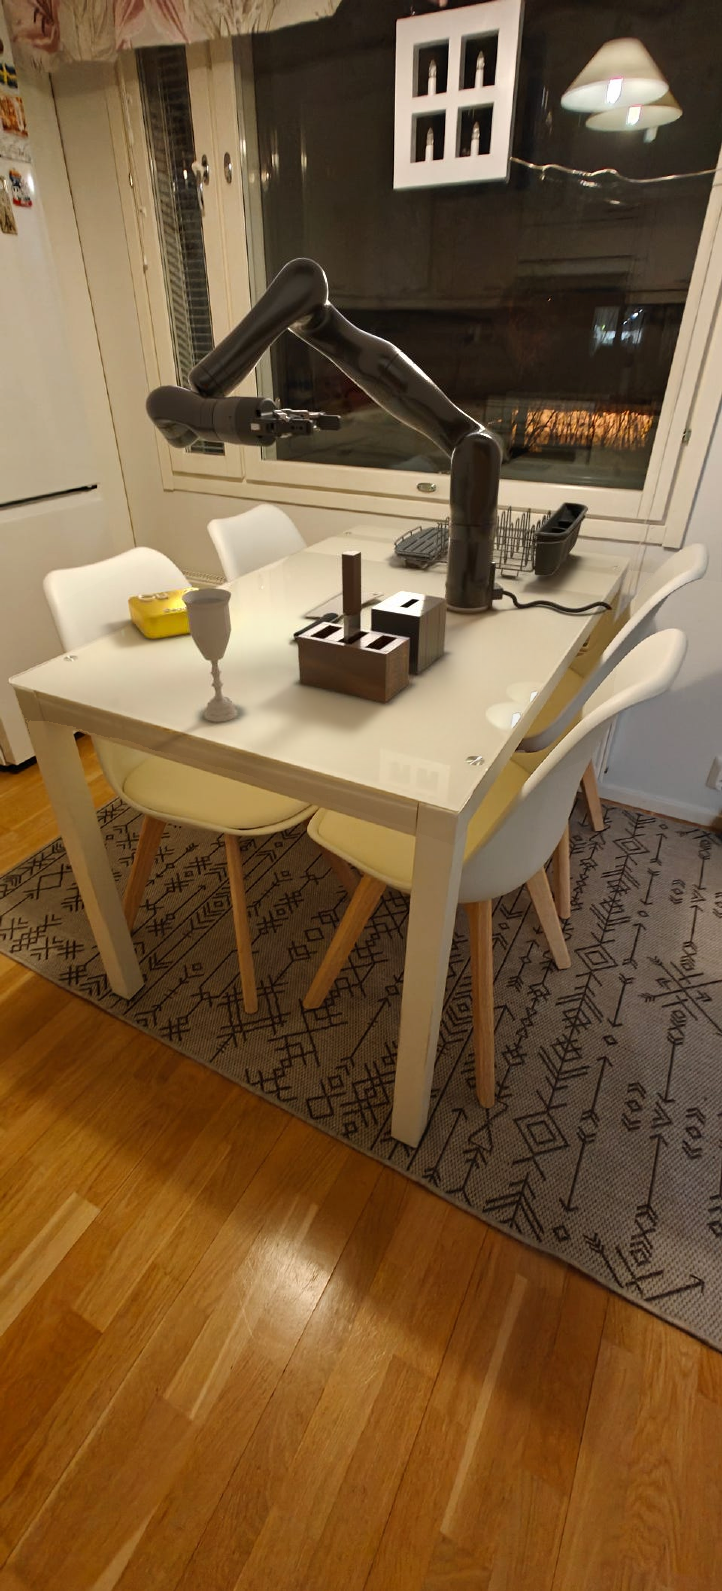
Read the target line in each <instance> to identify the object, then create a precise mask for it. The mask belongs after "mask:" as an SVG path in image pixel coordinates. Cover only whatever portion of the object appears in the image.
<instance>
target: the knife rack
mask: <svg viewBox="0 0 722 1591" xmlns="http://www.w3.org/2000/svg"><path fill="white" fill-rule="evenodd" d="M297 640H298V641H297ZM297 640H296V641H297V655H298V672H299V684H303V685H307V686H312V687H316V688H320V689H323V690H329V691H333V692H336V693H337V692H338V693H341V694H346V695H350V696H354V697H358V698H363V699H367V700H372V701H376V702H380V703H388V701H390V700H391V699H393V697H395V696H397V694H398V693H400V692H401V691H403V690H404V689H405V688H406V687H407V686H408V685H409V674H410V673H409V645H410V638H408V637H402V636H397V635H392V634H386V633H381V632H375V631H371V629H364V628H361V639H359V640H358V641H356V642H354V643H353V644H351V645H350V644H345V643H344V624H337V623H327V622H323V623H321V624H319V625H317V626H316V627H314V628H312V629H310V630H308V631H306V632H305V633H303V634H301V635H299V636H297Z"/></svg>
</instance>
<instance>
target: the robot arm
mask: <svg viewBox="0 0 722 1591" xmlns="http://www.w3.org/2000/svg"><path fill="white" fill-rule="evenodd" d="M328 299H329V286H328V280H327V276H326V272H325V271H324V270H323V268H322V267H321V266H320V264H319V263H317V262H315V260H312V259H310V258H306V257H298V258H295V259H293V260H290V261H289V262H288V263H286V264H285V265H284V266H283V268H282V269H281V270H280V271H279V273H278V274H277V275H276V277H275V278H274V279H273V281H272V282H271V284H269V286H268V287H267V289H266V290H265V291H264V293H263V294H262V295H261V297H260V298H259V299H258V300H257V302H256V303H255V304H254V306H253V307H251V309H250V310H249V311H248V313H247V314H246V315H245V316H244V317H243V319H241V321H240V322H239V323H238V324H237V325H236V326H235V327H234V328H233V329H232V330H231V331H230V333H228V335H227V336H226V337H224V339H222V341H220V343H218V344H217V345H216V346H215V347H214V348H213V349H212V350H211V351H210V352H209V353H208V354H207V355H205V357H203V358H202V359H201V360H200V361H199V362H198V363H197V364H196V365H195V366H194V367H193V368H192V369H191V370H190V371H189V373H188V376H187V380H188V384H189V386H190V389H188V388H184V387H181V386H178V385H173V384H164V385H160V386H158V387H156V388H153V389H152V390H151V391H150V392H149V393H148V395H147V397H146V400H145V404H144V405H145V411H146V415H147V416H148V417H149V420H150V421H151V422H152V424H153V425H154V426H155V427H156V429H157V430H158V431H159V432H160V434H161V435H162V436H163V438H164V439H165V440H166V442H167V443H168V444H169V445H170V446H171V447H172V448H175V449H186V448H188V447H191V446H192V445H194V444H195V443H196V442H198V440H199V439H201V440H202V441H206V442H213V443H223V444H224V443H225V444H226V443H227V444H229V445H236V446H245V447H247V446H248V447H259V448H260V447H263V448H269V447H271V446H273V445H274V444H275V443H276V442H277V440H278V438H281V439H282V438H289V437H292V436H303V437H304V436H305V437H306V436H307V437H310V436H313V435H314V432H315V431H318V432H322V431H335V432H336V431H338V432H339V431H341V429H342V417H341V415H336V414H335V415H334V414H332V415H331V414H326V412H324V411H319V412H317V411H316V412H315V411H308V410H292V409H291V408H283V409H280V410H279V409H278V406H277V405H276V403H275V401H274V400H273V399H271V398H270V397H267V396H248V395H247V396H244V395H232V394H233V393H234V392H235V391H236V390H237V389H238V388H239V387H240V386H241V385H242V384H243V383H244V382H245V381H246V379H247V378H248V377H249V376H250V374H251V373H252V372H253V370H254V369H255V368H256V366H257V364H259V362H260V360H261V359H262V358H263V356H264V355H265V353H266V352H267V351H268V349H270V347H271V346H272V345H273V343H274V342H275V341H276V340H277V339H278V338H279V337H280V336H281V335H282V334H283V333H285V331H286V330H289V331H290V332H291V333H293V334H295V336H297V337H298V338H300V339H301V340H302V341H304V342H305V343H306V344H308V345H310V346H311V347H313V348H314V349H315V350H317V351H318V352H319V353H321V354H322V355H323V356H325V357H326V358H328V359H329V360H330V361H331V362H333V364H335V366H336V367H338V369H340V370H341V372H343V373H344V374H345V375H346V376H347V377H348V378H349V379H350V380H351V381H352V382H354V384H356V385H357V386H358V387H359V388H360V389H361V390H363V391H364V393H366V395H368V396H369V397H370V398H371V399H372V400H373V401H374V402H375V403H376V404H378V406H380V407H381V408H382V409H383V410H385V411H386V412H387V413H388V414H390V415H391V416H392V417H394V418H395V419H397V420H398V421H399V422H401V423H403V424H405V425H406V426H408V427H409V428H411V429H413V430H415V431H417V432H419V433H420V434H422V435H424V436H425V437H427V438H428V439H429V440H431V441H432V442H433V443H434V444H435V445H436V446H437V447H439V449H440V450H442V451H443V453H445V454H446V455H447V457H448V458H449V459H450V460H451V461H450V476H449V477H450V478H449V499H448V501H449V502H448V506H449V518H450V521H449V539H448V547H447V550H448V551H447V556H446V557H447V558H446V561H447V563H446V575H445V576H446V577H445V583H444V584H445V585H444V587H445V594H444V598H447V610H449V611H452V612H455V613H462V614H477V613H483V612H485V611H487V610H493V602H494V601H500V600H503V597H504V596H507V597H509V598H510V599H511V600H512V603H513V606H514V607H516V608H518V609H528V608H531V607H534V606H535V607H536V606H548V607H551V608H554V609H556V610H558V611H561V612H564V613H571V614H579V613H583V612H587V611H589V610H591V609H594V608H596V607H597V608H598V607H603V608H604V609H605V610H607V611H612V610H613V607H612V606H611V605H610V604H609V603H607V602H605V601H594V602H592V603H590V604H588V605H585V606H581V607H576V608H572V607H566V606H563V605H560V604H558V603H556V602H553V601H548V600H543V599H539V600H533V601H530V602H527V603H519V601H518V599H517V596H516V595H515V594H514V593H513V592H510V591H508V590H505V589H504V587H502V585H500V584H499V583H498V582H495V581H496V570H497V569H496V567H497V564H496V563H497V562H496V561H494V557H493V556H494V554H495V553H494V552H495V550H494V549H495V544H494V543H496V537H495V532H496V521H497V522H498V518H497V511H498V512H499V506H498V505H499V490H500V479H501V470H502V469H501V468H502V464H503V460H504V459H503V458H504V449H503V445H502V443H501V440H500V439H499V437H498V436H497V435H496V434H495V433H493V432H492V431H491V430H489V429H488V428H487V427H485V426H483V425H482V424H481V423H479V422H478V421H476V419H473V418H472V417H471V416H469V415H468V414H466V413H465V412H464V411H463V410H461V409H460V408H459V407H458V406H456V405H455V404H454V403H453V402H452V401H451V399H449V398H448V396H447V395H446V394H445V393H444V392H443V391H442V390H441V389H440V387H438V385H437V384H436V383H435V382H434V381H433V380H432V379H431V378H430V377H429V375H427V374H426V373H425V372H424V371H423V370H422V369H421V368H420V367H419V366H418V365H417V364H416V363H415V362H414V361H413V360H412V359H411V358H409V357H408V356H407V355H406V354H405V353H404V352H402V350H400V349H399V348H398V347H397V346H395V345H394V344H393V343H391V342H390V341H387V340H385V339H384V338H381V337H378V336H376V335H374V334H372V333H369V332H366V331H364V330H361V329H360V328H358V327H357V326H355V325H354V324H352V323H351V322H350V321H349V320H347V318H346V317H344V315H343V314H341V313H340V311H338V310H337V309H336V307H335V306H334V305H333V304H332V303H331V302H330V301H329V300H328ZM230 395H232V396H230Z"/></svg>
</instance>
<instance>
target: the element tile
mask: <svg viewBox="0 0 722 1591" xmlns="http://www.w3.org/2000/svg"><path fill="white" fill-rule="evenodd" d="M198 589H199V588H197V587H188V588H182V589H176V590H169V591H162V592H161V591H160V592H154V593H143V594H139V595H136V596H131V597H129V598H128V600H127V603H128V609H129V613H130V619H131V621H132V622H133V623H134V625H135V626H136V627H137V628H138V630H140V632H141V633H142V634H143V636H144V637H146V638H147V639H152V640H155V639H156V640H157V639H164V638H169V637H175V636H180V635H181V636H182V635H186V634H190V629H189V622H188V615H187V608H186V605H185V604H184V602H183V601H182V598H181V597H182V596H183V595H184V594H185V593H187V592H190V591H193V590H198Z"/></svg>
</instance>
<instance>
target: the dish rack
mask: <svg viewBox="0 0 722 1591" xmlns="http://www.w3.org/2000/svg"><path fill="white" fill-rule="evenodd" d="M531 510H532V508H531V507H528V508H527V511H526V512H522V514H521V519H520V517H519V516H518V517H517V518H516V519H515V525H514V522H512V511H513V510H512V506H511V505H508V507H507V512H506V510H504V509H503V510H502V512H501V517H500V516H499V514H498V512H499V510H498V511H497V521H496V532H495V538H496V541H495V543H494V545H496V548H494V551H497V552H500V553H499V554H500V555H493V558H497V559H499V561H498V562H495V563H496V565H498V566H496V570H500V575H501V577H502V578H507V579H517V578H518V577H519V572H521V573H534V575H535V576H540V577H541V576H542V577H547V576H551V575H553V574H555V573H556V571H558V569H559V567H560V566H561V565H562V563H564V561H565V559H567V557H568V555H569V554H570V553H571V551H573V548H574V547H575V545H576V544H577V541H578V538H579V535H580V530H581V526H582V523H583V521H584V520H585V519H586V513H587V511H589V507H588V506H587V505H586V504H582V503H578V502H568V501H565V502H562V504H560V506H559V507H558V508H557V509H556V510H555V511H554V512H553V513H552V510H550V509H548V510H547V514H543V516H542V519H538V520H537V522H536V525H535V524H534V523H533V524H532V525H531V515H532V514H531ZM447 521H448V522H447ZM449 521H450V515H449V516H447V517H446V518H445V520H444V522H441V521H438V522H436V524H437V526H429V527H426V528H424V529H423V528H422V527H423V526H422V525H418V526H416V527H414V528H412V529H409V530H408V531H406V532H405V533H404V534H402V535H400V537H398V538H397V539H396V540H395V541H394V543H393V545H394V547H393V548H394V549H393V550H394V553H395V556H396V558H401V559H403V560H404V565H405V566H409V567H414V568H418V567H421V563H422V561H424V562H428V563H430V562H432V563H439V564H440V563H441V564H447V560H438V559H437V558H441V559H447V556H445V552H448V539H449ZM447 526H448V528H447ZM418 529H420V530H419V531H416V530H418ZM414 531H416V532H415V533H413V532H414ZM409 534H410V535H409ZM407 535H409V536H407ZM404 537H405V538H404ZM400 540H401V541H400ZM503 548H504V549H503ZM509 548H510V549H509ZM520 548H522V552H520ZM514 554H519V555H520V554H521V558H518V557H517V558H516V557H514ZM508 555H509V556H508ZM529 557H530V559H529ZM408 559H409V560H411V561H413V560H418V561H419V562H418V563H411V562H408ZM502 559H503V563H502ZM508 560H516V561H520V564H511V563H507V561H508ZM523 562H524V563H523ZM529 562H531V570H529V569H523V568H527V566H528V563H529ZM523 564H524V565H523ZM503 566H510V567H503ZM511 566H512V567H519V568H511ZM504 571H511V572H512V571H513V572H516V575H514V574H513V575H512V574H505V573H504Z"/></svg>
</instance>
